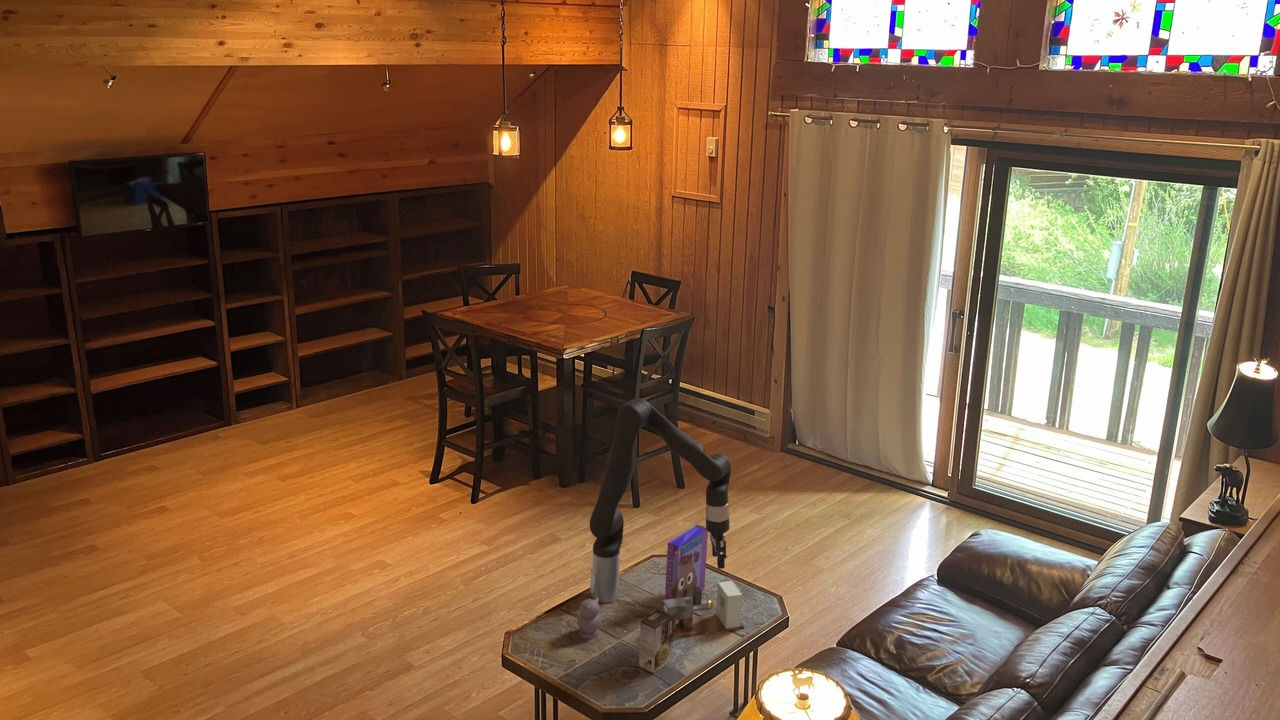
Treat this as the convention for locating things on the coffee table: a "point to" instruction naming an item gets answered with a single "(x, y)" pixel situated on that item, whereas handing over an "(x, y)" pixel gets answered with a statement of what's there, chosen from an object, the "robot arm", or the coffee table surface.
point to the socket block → (728, 604)
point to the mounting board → (692, 619)
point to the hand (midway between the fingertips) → (718, 562)
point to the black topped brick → (697, 601)
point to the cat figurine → (589, 619)
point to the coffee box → (656, 640)
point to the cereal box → (686, 563)
